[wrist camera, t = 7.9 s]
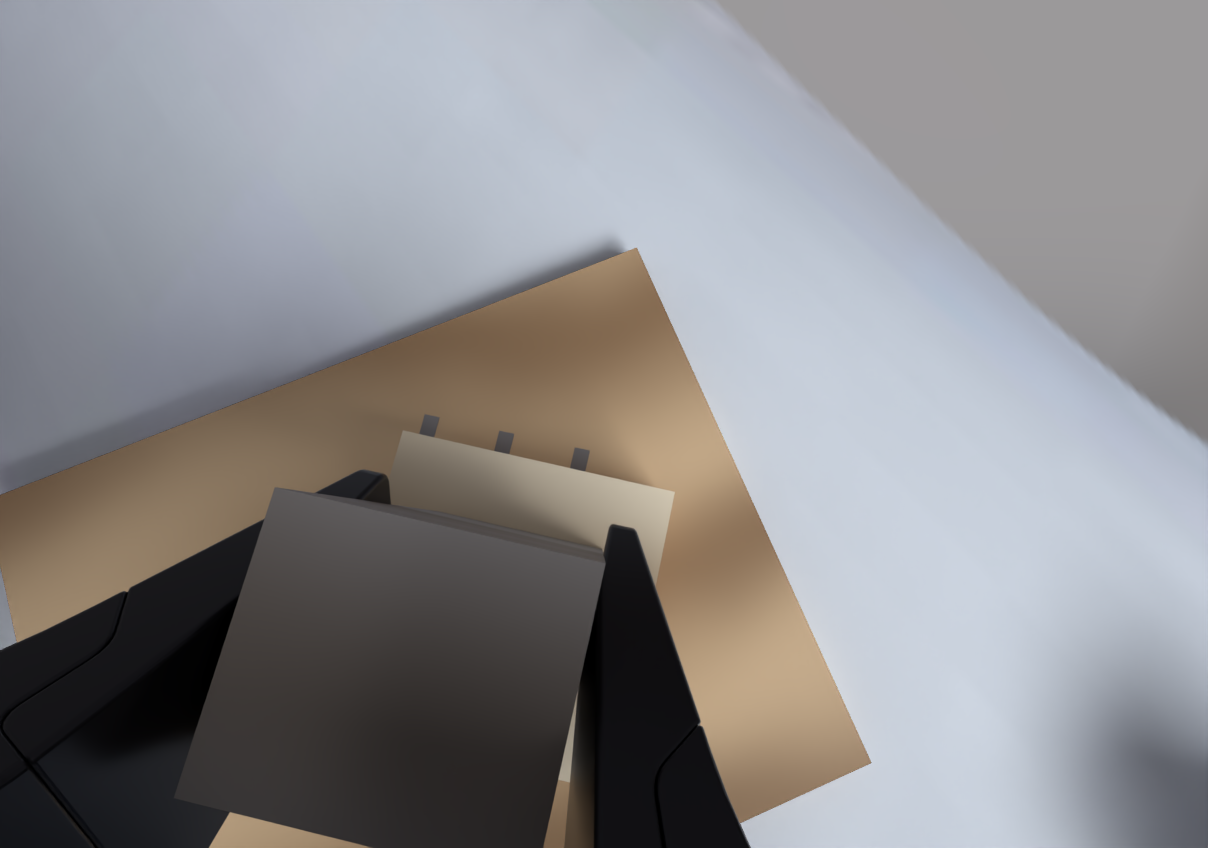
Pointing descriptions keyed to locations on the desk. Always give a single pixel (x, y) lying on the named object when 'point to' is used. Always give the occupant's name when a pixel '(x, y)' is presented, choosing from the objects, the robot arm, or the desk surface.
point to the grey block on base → (415, 651)
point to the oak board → (499, 423)
